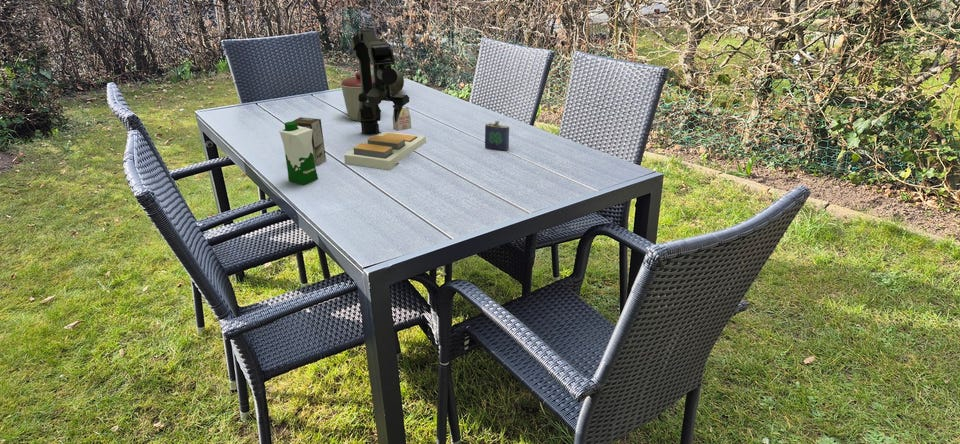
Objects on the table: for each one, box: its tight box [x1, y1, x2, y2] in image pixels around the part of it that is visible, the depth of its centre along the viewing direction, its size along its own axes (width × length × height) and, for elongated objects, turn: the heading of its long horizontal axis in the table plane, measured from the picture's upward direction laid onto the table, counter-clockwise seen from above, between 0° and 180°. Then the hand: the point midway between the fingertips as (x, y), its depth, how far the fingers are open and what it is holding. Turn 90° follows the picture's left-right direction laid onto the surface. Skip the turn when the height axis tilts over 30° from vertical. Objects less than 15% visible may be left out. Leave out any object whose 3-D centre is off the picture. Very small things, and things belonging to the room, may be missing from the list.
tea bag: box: [392, 106, 412, 132], centre depth 247 cm, size 4×7×10 cm, turn 124°
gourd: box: [357, 67, 405, 96], centre depth 303 cm, size 25×25×17 cm
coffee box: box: [291, 116, 327, 167], centre depth 212 cm, size 9×6×16 cm
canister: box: [339, 71, 380, 122], centre depth 262 cm, size 18×18×21 cm
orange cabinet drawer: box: [383, 132, 418, 142], centre depth 231 cm, size 13×6×3 cm, turn 69°
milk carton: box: [279, 121, 319, 186], centre depth 195 cm, size 9×9×20 cm
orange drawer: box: [366, 134, 405, 150], centre depth 222 cm, size 13×6×3 cm, turn 69°
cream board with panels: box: [343, 131, 427, 171], centre depth 224 cm, size 23×30×3 cm
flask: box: [484, 120, 510, 152], centre depth 226 cm, size 10×3×12 cm, turn 68°
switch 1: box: [352, 142, 393, 159], centre depth 213 cm, size 13×6×3 cm, turn 69°
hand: (385, 120), depth 218 cm, fingers open, 9 cm apart
